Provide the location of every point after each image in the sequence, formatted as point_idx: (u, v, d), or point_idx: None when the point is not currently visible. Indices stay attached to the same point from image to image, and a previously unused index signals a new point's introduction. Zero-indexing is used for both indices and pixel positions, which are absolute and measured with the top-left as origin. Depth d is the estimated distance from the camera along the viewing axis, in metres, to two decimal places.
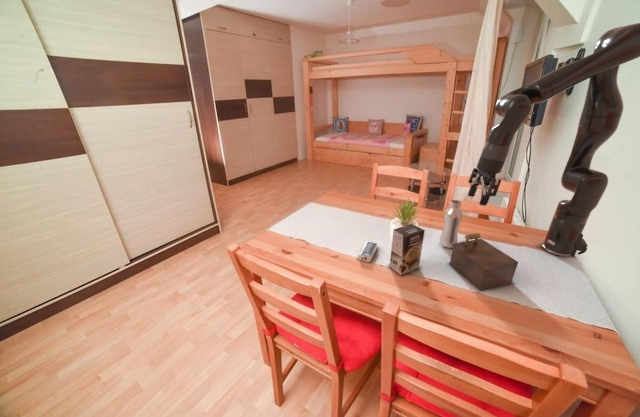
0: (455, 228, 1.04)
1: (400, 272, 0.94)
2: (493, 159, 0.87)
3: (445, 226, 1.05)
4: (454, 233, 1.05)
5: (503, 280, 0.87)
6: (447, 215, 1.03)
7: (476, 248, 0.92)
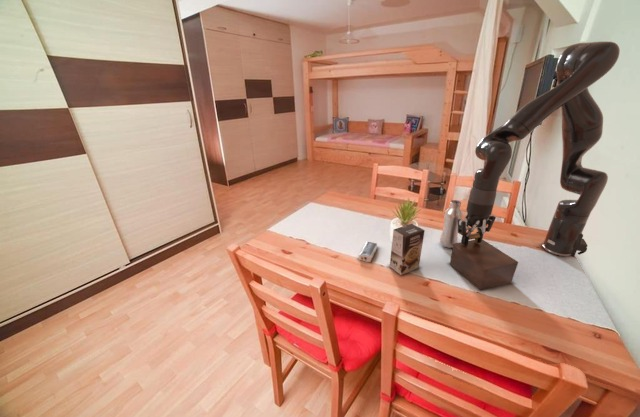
0: (455, 228, 1.04)
1: (400, 272, 0.94)
2: (469, 199, 0.89)
3: (445, 226, 1.05)
4: (454, 233, 1.05)
5: (503, 280, 0.87)
6: (447, 215, 1.03)
7: (476, 248, 0.92)
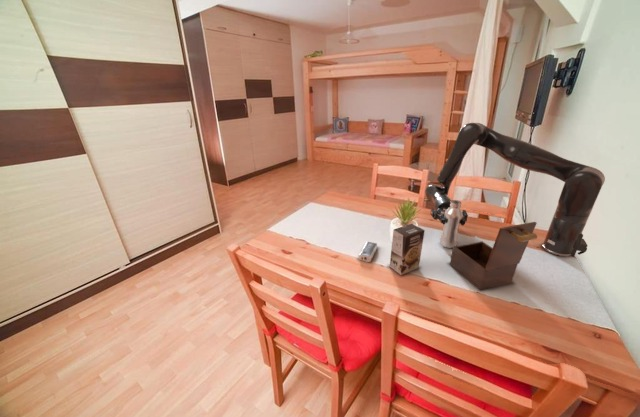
0: (455, 228, 1.04)
1: (400, 272, 0.94)
2: (435, 208, 1.19)
3: (445, 226, 1.05)
4: (454, 233, 1.05)
5: (503, 280, 0.87)
6: (447, 215, 1.03)
7: (513, 240, 0.78)
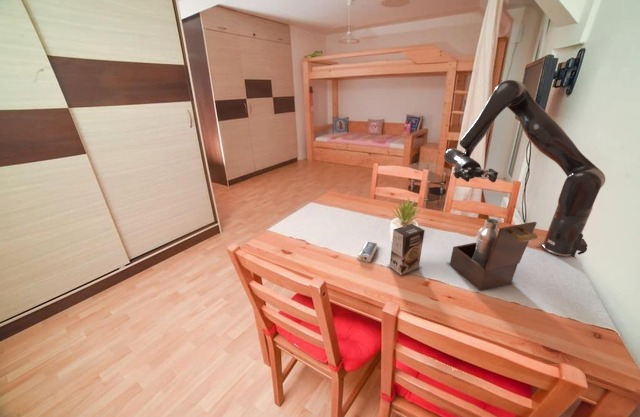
0: (490, 252, 0.87)
1: (400, 272, 0.94)
2: None
3: (478, 249, 0.89)
4: None
5: (503, 280, 0.87)
6: (481, 237, 0.86)
7: (513, 240, 0.78)
